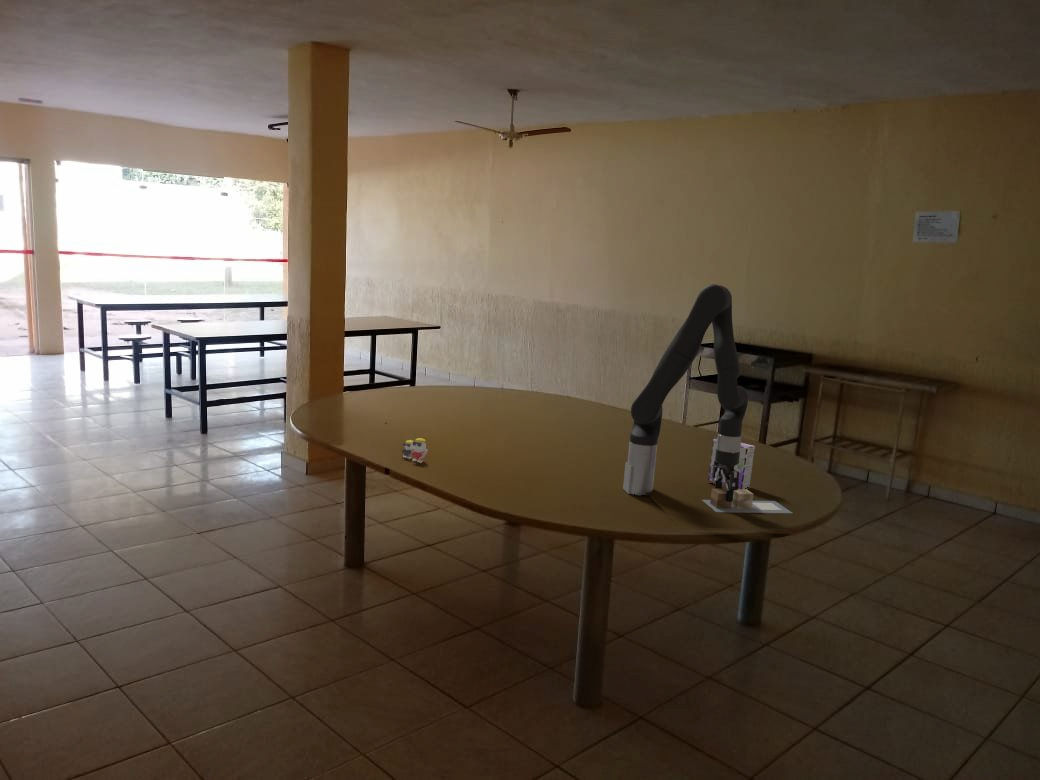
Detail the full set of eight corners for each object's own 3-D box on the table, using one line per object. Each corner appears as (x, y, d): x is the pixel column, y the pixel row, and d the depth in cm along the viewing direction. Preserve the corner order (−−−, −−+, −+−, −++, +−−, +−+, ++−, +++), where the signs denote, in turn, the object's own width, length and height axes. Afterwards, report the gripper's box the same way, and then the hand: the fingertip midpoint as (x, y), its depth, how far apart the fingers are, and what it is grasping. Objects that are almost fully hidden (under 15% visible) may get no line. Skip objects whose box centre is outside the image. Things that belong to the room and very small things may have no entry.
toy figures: (399, 456, 290) (400, 434, 288) (409, 454, 293) (410, 432, 291) (420, 464, 282) (421, 441, 280) (429, 462, 285) (431, 440, 283)
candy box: (706, 483, 284) (712, 438, 281) (715, 480, 288) (721, 436, 285) (741, 493, 274) (747, 447, 271) (749, 490, 278) (755, 445, 276)
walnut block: (716, 508, 251) (718, 493, 251) (710, 503, 256) (711, 488, 255) (731, 508, 252) (732, 493, 251) (724, 503, 257) (726, 488, 256)
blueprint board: (715, 515, 248) (716, 511, 248) (701, 503, 260) (701, 499, 259) (792, 516, 253) (792, 512, 252) (774, 504, 264) (775, 500, 264)
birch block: (736, 508, 253) (738, 493, 252) (730, 503, 258) (732, 488, 257) (751, 508, 254) (753, 494, 253) (744, 503, 258) (746, 489, 258)
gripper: (708, 442, 257) (703, 490, 260) (726, 454, 244) (721, 504, 246) (729, 443, 259) (724, 490, 261) (749, 454, 245) (744, 504, 248)
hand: (723, 497), depth 254 cm, fingers open, 8 cm apart
